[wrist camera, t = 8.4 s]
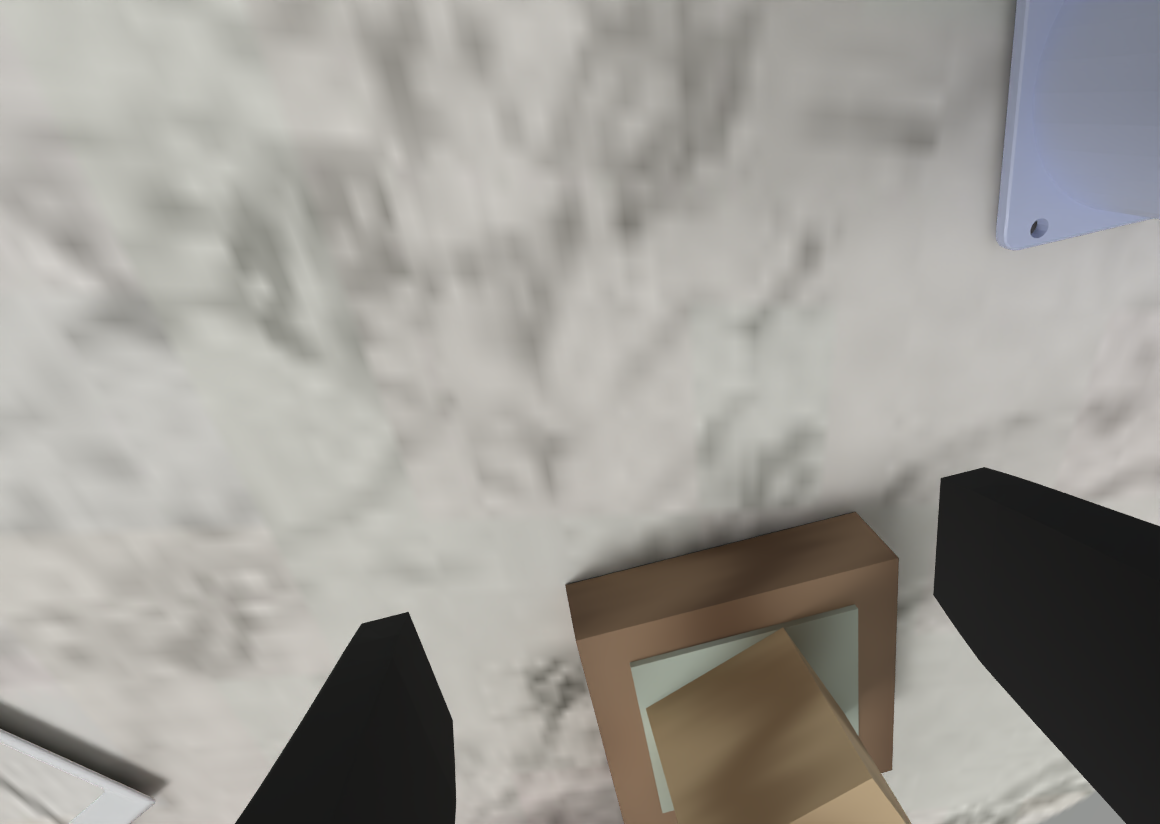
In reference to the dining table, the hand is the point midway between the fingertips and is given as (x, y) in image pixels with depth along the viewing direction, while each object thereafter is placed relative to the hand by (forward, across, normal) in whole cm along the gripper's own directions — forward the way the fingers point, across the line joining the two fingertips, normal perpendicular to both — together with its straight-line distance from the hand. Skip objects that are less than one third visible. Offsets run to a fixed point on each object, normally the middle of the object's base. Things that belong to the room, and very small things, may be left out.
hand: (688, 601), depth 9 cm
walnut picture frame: (+10, -3, +13) cm, 17 cm away
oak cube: (+8, -3, +13) cm, 15 cm away
